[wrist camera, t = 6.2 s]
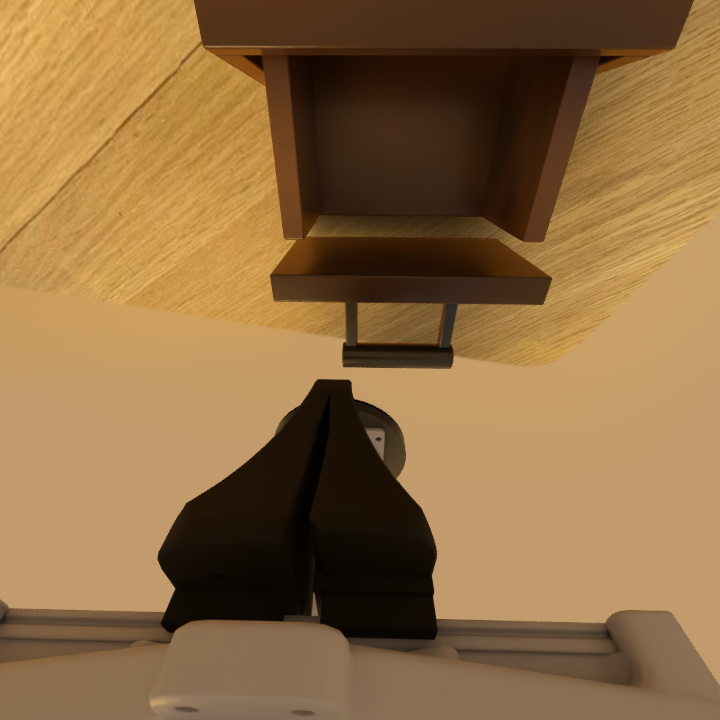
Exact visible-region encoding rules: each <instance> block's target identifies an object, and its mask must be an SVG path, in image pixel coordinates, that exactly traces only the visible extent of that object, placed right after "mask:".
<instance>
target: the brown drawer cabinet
mask: <svg viewBox="0 0 720 720" xmlns="http://www.w3.org/2000/svg"><path fill="white" fill-rule="evenodd" d="M693 1H694V0H194V3H195V8H196V13H197V19H198V24H199V29H200V34H201V39H202V45H203V47H204V48H205V49H206V50H208V51H210V52H211V53H213V54H215V55H216V56H218V57H219V58H221V59H222V60H224V61H226V62H227V63H229V64H231V65H232V66H234V67H235V68H237V69H239V70H240V71H242V72H244V73H245V74H247V75H248V76H250V77H252V78H253V79H255V80H256V81H258V82H260V83H261V84H263V85H265V77H264V69H263V60H262V55H474V56H601V57H600V60H599V63H598V66H597V70H596V73H595V74H599V73H602V72H605V71H608V70H611V69H614V68H617V67H620V66H623V65H626V64H629V63H632V62H635V61H638V60H642V59H645V58H648V57H650V56H654V55H657V54H660V53H663V52H666V51H669V50H672V49H674V48H675V46H676V44H677V42H678V39H679V37H680V34H681V32H682V29H683V27H684V24H685V22H686V19H687V17H688V14H689V12H690V9H691V6H692V4H693ZM265 86H266V85H265Z"/></svg>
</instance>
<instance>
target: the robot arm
mask: <svg viewBox="0 0 720 720" xmlns="http://www.w3.org/2000/svg"><path fill="white" fill-rule="evenodd" d="M351 384H352V383H351V381H349V380H330V379H318V380H317V381H316V382H315V383H314V385H313V387H312V389H311V390H310V392H309V393H308V395H307V396H306V398H305V399H304V401H303V402H302V403H301V405H300V406H299V408H298V409H297V410H296V412H295V413H294V414H293V415H292V417H291V418H290V419H289V420H288V421H287V423H286V424H285V425H284V426H283V427H282V429H281V430H280V431H279V432H278V433H277V434H276V435H275V436H274V437H273V438H272V439H271V440H270V441H269V442H268V443H267V444H266V445H265V446H264V447H263V448H262V449H261V450H260V451H259V452H257V453H256V454H255V455H254V456H253V457H252V458H251V459H250V460H248V461H247V462H246V463H245V464H244V465H242V466H241V467H240V468H238V469H237V470H236V471H235V472H233V473H232V474H230V475H229V476H228V477H226V478H225V479H224V480H222V481H221V482H219V483H218V484H216V485H215V486H213V487H212V488H210V489H209V490H207V491H205V492H204V493H202V494H201V495H199V496H197V497H196V498H194V499H193V500H191V501H189V502H187V503H186V505H185V506H184V508H183V510H182V511H181V513H180V514H179V515H178V517H177V518H176V520H175V522H174V524H173V526H172V527H171V529H170V531H169V533H168V535H167V537H166V539H165V541H164V543H163V545H162V547H161V549H160V551H159V553H158V562H159V564H160V566H161V569H162V570H163V571H164V573H165V574H166V576H167V577H168V579H169V580H170V581H171V583H172V584H173V586H174V587H175V591H174V593H173V596H172V598H171V600H170V602H169V605H168V607H167V609H166V612H133V611H132V612H129V611H92V610H51V609H13V608H12V609H11V608H9V607H8V605H7V604H6V603H4V602H3V601H2V600H0V720H720V685H719V684H718V682H717V681H716V679H715V678H714V676H713V675H712V673H711V672H710V670H709V669H708V667H707V666H706V664H705V663H704V661H703V660H702V658H701V656H700V655H699V653H698V652H697V651H696V649H695V647H694V646H693V644H692V643H691V641H690V640H689V638H688V637H687V635H686V634H685V632H684V631H683V629H682V628H681V626H680V625H679V623H678V621H677V620H676V618H675V617H674V615H673V614H672V613H670V612H668V611H644V610H642V611H641V610H627V611H626V610H625V611H620V612H616V613H614V614H612V615H611V616H610V617H609V618H608V619H607V621H606V623H575V622H574V623H572V622H535V621H494V620H454V619H453V620H452V619H436V615H435V608H434V601H433V595H434V587H433V580H432V573H433V570H434V566H435V562H436V559H437V550H436V545H435V542H434V538H433V535H432V532H431V529H430V527H429V524H428V522H427V520H426V517H425V515H424V513H423V510H422V508H421V507H420V506H419V505H418V504H417V503H416V502H415V501H414V500H413V499H412V497H411V496H410V495H409V494H408V493H407V492H406V491H405V489H404V488H403V487H402V486H401V484H400V483H399V482H398V481H397V480H396V478H395V477H394V475H393V474H392V473H391V471H390V470H389V468H388V467H387V466H386V464H385V463H384V462H383V455H384V440H385V431H384V430H383V429H382V428H364V426H363V423H362V421H361V419H360V416H359V413H358V411H357V408H356V405H355V402H354V398H353V394H352V387H351V386H352V385H351ZM377 437H380V438H377Z"/></svg>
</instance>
